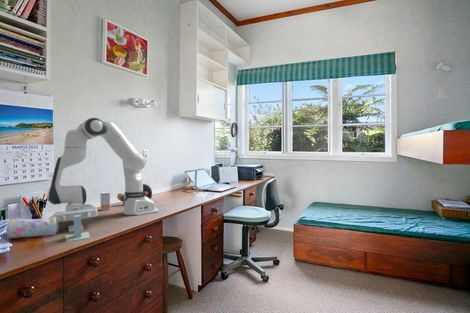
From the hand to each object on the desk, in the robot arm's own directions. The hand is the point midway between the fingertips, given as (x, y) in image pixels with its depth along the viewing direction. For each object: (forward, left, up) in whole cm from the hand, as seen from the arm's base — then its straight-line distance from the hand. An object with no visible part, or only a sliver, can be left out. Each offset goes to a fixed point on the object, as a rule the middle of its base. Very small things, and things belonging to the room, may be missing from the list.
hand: (76, 217), depth 142 cm
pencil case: (+18, -6, -8) cm, 21 cm away
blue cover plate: (0, +7, -7) cm, 10 cm away
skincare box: (-20, -51, -8) cm, 55 cm away
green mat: (0, +7, -8) cm, 11 cm away
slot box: (0, -8, -8) cm, 11 cm away
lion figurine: (-36, -59, -8) cm, 69 cm away
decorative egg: (-47, -56, -8) cm, 74 cm away
